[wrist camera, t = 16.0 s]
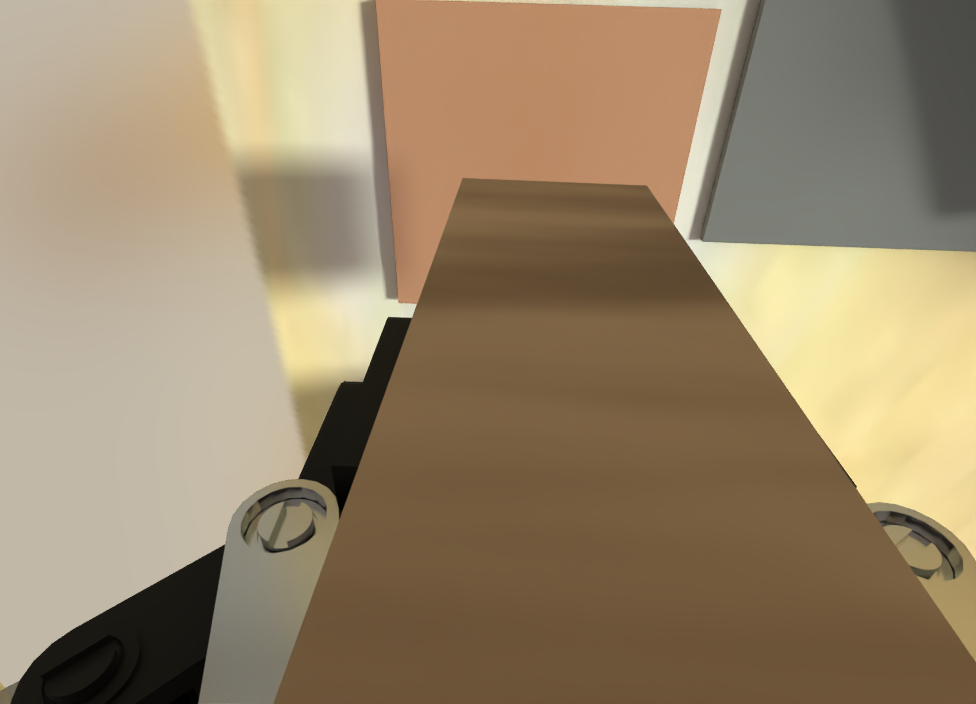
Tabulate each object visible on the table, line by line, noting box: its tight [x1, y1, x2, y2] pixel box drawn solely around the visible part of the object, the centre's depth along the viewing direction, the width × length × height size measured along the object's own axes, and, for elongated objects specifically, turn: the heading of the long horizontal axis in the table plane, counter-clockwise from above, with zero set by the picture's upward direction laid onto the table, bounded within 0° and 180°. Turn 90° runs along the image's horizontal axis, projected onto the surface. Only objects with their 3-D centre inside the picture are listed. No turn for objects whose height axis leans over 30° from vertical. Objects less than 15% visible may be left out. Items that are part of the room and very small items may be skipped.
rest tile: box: [376, 0, 721, 304], centre depth 22 cm, size 12×12×1 cm
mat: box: [700, 0, 976, 252], centre depth 19 cm, size 16×13×1 cm
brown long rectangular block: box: [273, 178, 976, 704], centre depth 10 cm, size 5×5×15 cm
